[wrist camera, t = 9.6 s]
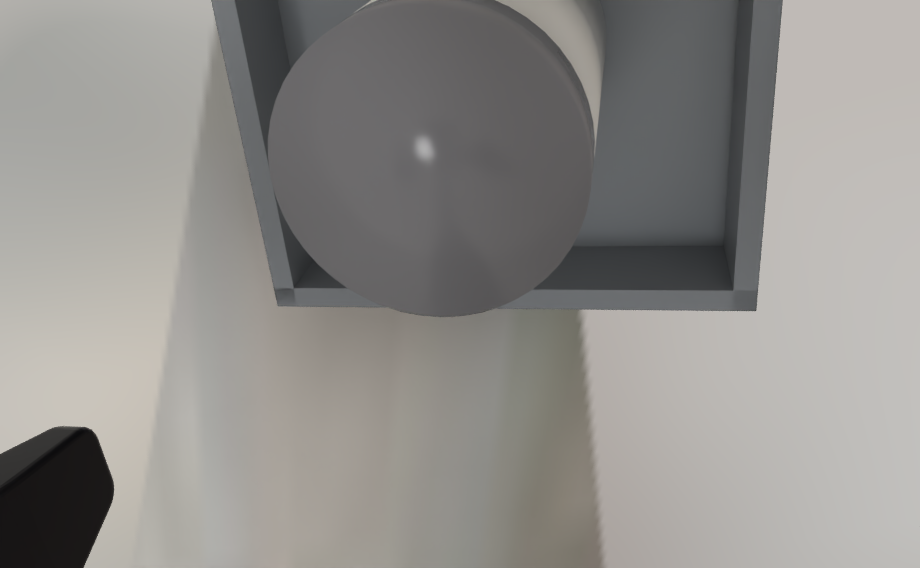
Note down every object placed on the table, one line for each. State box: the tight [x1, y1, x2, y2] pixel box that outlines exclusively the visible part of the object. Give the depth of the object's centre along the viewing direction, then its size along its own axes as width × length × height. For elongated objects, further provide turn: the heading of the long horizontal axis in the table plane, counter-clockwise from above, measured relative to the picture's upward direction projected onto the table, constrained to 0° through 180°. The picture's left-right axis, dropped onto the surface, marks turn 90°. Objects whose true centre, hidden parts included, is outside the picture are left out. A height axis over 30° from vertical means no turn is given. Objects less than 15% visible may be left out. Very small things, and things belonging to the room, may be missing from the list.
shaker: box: [268, 0, 607, 317], centre depth 15 cm, size 5×5×8 cm
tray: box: [211, 0, 783, 311], centre depth 18 cm, size 11×11×3 cm
